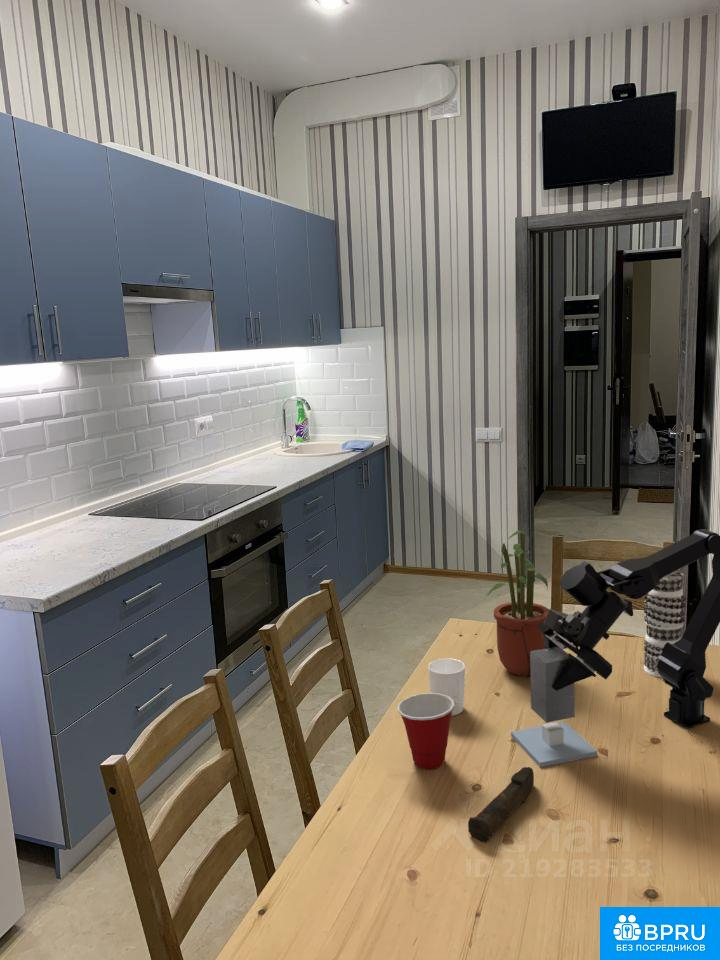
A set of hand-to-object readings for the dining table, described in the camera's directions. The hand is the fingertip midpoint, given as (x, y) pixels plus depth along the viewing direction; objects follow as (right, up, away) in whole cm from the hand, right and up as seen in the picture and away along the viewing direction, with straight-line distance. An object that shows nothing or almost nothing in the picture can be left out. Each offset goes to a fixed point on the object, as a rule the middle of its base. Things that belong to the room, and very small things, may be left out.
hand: (545, 682), depth 145 cm
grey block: (+2, -6, +1) cm, 7 cm away
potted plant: (+2, -7, +38) cm, 39 cm away
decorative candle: (+35, -6, +32) cm, 48 cm away
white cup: (-17, -11, +20) cm, 28 cm away
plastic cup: (-23, -15, 0) cm, 27 cm away
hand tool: (-11, -18, -17) cm, 27 cm away
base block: (+2, -14, +3) cm, 14 cm away
